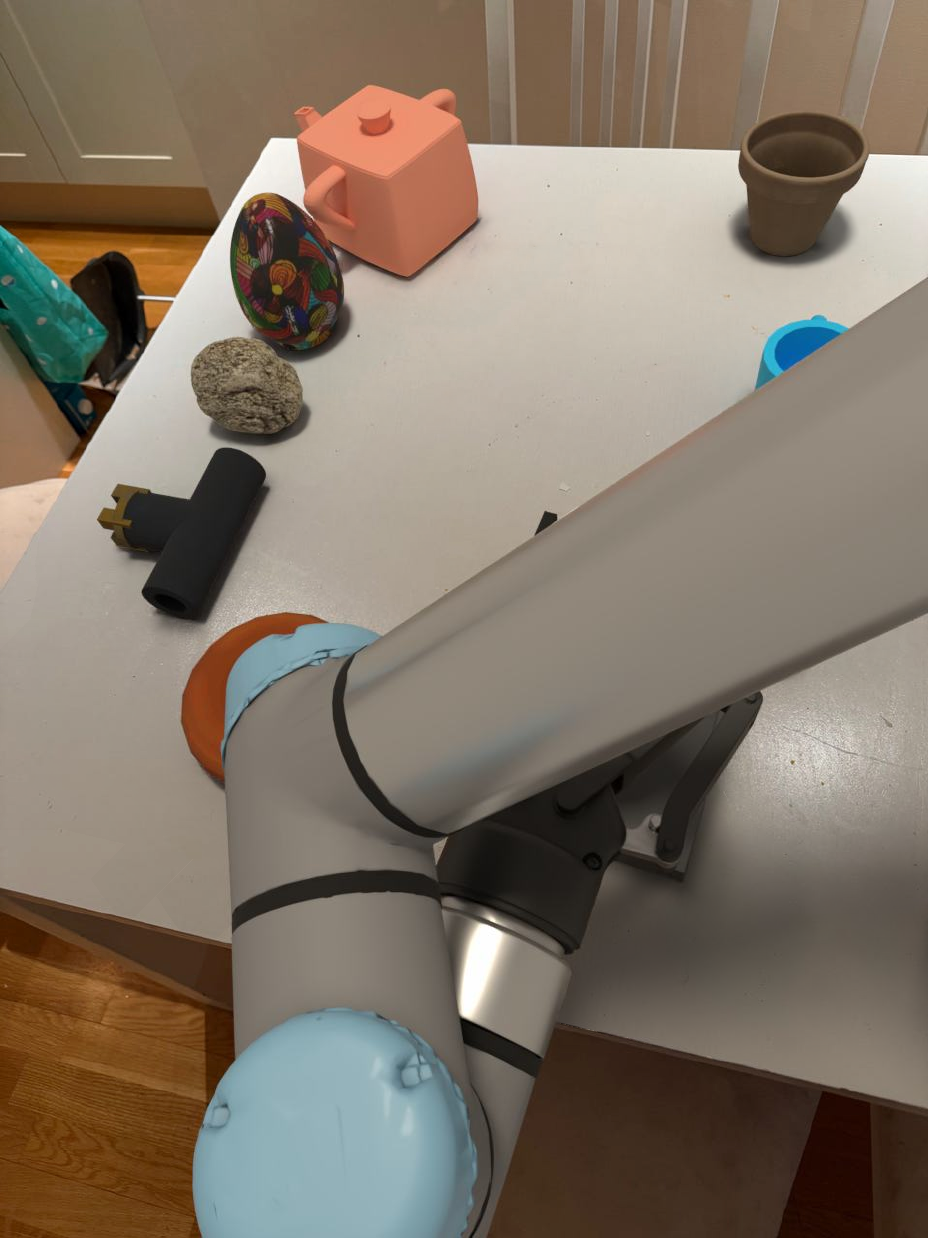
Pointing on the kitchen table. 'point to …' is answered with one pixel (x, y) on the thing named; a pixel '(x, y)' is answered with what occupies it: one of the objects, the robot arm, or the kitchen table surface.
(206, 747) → the donut
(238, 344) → the stone
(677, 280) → the kitchen table surface
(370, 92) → the teapot
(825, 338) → the mug
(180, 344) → the kitchen table surface
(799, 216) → the flower pot
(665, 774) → the tray
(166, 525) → the pipe connector
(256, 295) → the egg
